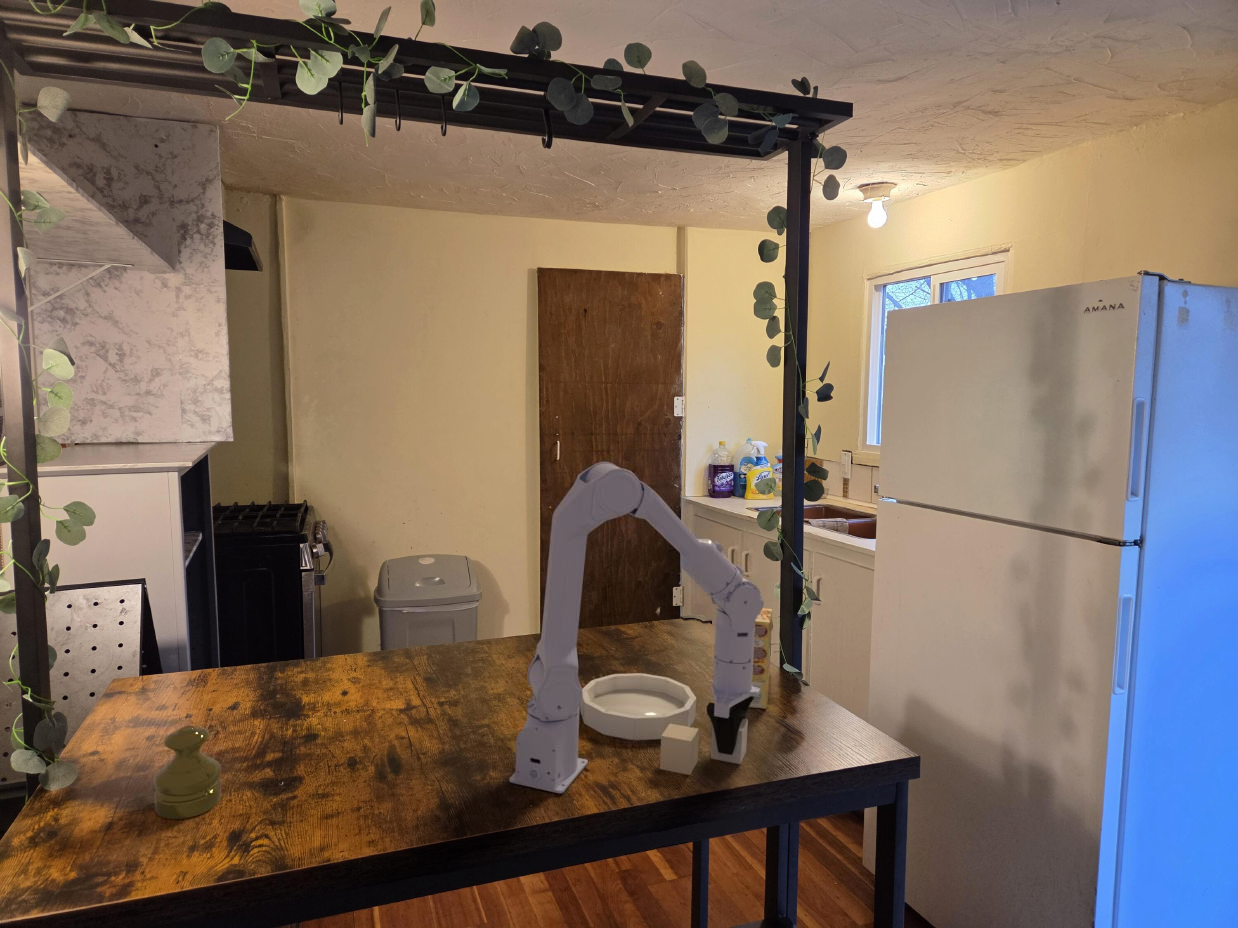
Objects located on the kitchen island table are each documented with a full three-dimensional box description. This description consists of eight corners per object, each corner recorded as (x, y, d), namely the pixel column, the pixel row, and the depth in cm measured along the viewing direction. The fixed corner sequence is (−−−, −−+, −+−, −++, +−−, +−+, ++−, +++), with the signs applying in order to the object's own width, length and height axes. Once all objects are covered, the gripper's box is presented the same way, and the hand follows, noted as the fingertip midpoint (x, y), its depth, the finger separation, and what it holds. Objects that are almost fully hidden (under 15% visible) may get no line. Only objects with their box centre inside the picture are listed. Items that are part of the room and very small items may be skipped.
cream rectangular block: (689, 775, 110) (691, 741, 110) (659, 769, 112) (661, 735, 111) (697, 761, 114) (699, 728, 114) (668, 755, 116) (669, 723, 115)
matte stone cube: (740, 764, 114) (742, 731, 113) (710, 758, 115) (712, 725, 115) (746, 751, 118) (747, 719, 117) (717, 745, 119) (719, 714, 119)
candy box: (766, 710, 133) (771, 622, 132) (741, 707, 134) (746, 620, 133) (768, 690, 142) (773, 608, 140) (745, 688, 143) (749, 606, 141)
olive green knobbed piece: (142, 821, 94) (140, 741, 93) (171, 789, 101) (169, 715, 101) (206, 820, 95) (205, 741, 94) (231, 788, 102) (229, 715, 101)
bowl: (676, 748, 118) (677, 726, 118) (563, 726, 124) (564, 705, 124) (705, 703, 135) (706, 683, 135) (605, 686, 142) (605, 667, 141)
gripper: (751, 677, 107) (746, 772, 108) (768, 645, 121) (764, 730, 122) (701, 669, 109) (697, 762, 111) (723, 639, 123) (719, 722, 124)
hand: (729, 745), depth 116 cm, fingers closed on matte stone cube, 4 cm apart
